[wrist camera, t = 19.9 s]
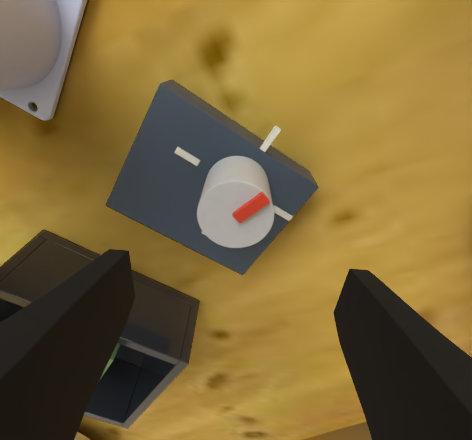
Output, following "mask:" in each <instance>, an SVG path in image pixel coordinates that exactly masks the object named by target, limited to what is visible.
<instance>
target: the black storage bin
mask: <svg viewBox="0 0 472 440" xmlns="http://www.w3.org/2000/svg"><path fill="white" fill-rule="evenodd" d="M99 256H100V255H98V254H96V253H94V252H91V251H89V250H87V249H85V248H83V247H80V246H78V245H76V244H74V243H72V242H70V241H67V240H65V239H63V238H61V237H59V236H56V235H54V234H52V233H50V232H48V231H46V230H42V231H41V232H40V233H39V234H38V235H37V236H35V237H34V238H33V239H32V240H31V241H30V242H28V243H27V244H26V245H25V246H24V247H23V248H21V249H20V250H19V251H18V252H17V253H16V254H14V255H13V256H12V257H11V258H10V259H9V260H8V261H6V262H5V263H4V264H3V265H2V266H1V267H0V322H1V321H3V320H5V319H6V318H8V317H10V316H11V315H13V314H15V313H16V312H18V311H19V310H21V309H22V308H24V307H26V306H27V305H29V304H30V303H32V302H33V301H35V300H37V299H38V298H40V297H41V296H43V295H44V294H46V293H47V292H49V291H51V290H52V289H53V288H55V287H56V286H58V285H59V284H61V283H62V282H64V281H65V280H66V279H68V278H69V277H71V276H72V275H74V274H75V273H77V272H78V271H79V270H81V269H82V268H84V267H85V266H86V265H88V264H89V263H91V262H92V261H93V260H95V259H96V258H98V257H99ZM132 277H133V284H134V291H135V299H134V302H133V305H132V309H131V312H130V315H129V317H128V320H127V323H126V326H125V328H124V330H123V332H122V335H121V337H120V339H119V341H118V343H119V344H120V346H119V348H118V351H117V353H116V355H115V358H114V360H113V362H112V363H111V364H110V366H109V367H108V369H107V370H106V372H105V373H104V375H103V376H102V378H101V379H100V380H99V382H98V384H97V386H96V389H95V391H94V393H93V395H92V397H91V399H90V401H89V404H88V406H87V408H86V411H85V413H84V416H87V417H90V418H94V419H97V420H100V421H104V422H107V423H110V424H113V425H117V426H121V427H124V428H127V429H128V428H129V427H130V426H131V425H132V424H133V423H134V422H135V421H136V419H137V418H138V417H139V416H140V415H141V414H142V413H143V412H144V411H145V410H146V409H147V408H148V407H149V406H150V405H151V403H152V402H153V401H154V400H155V399H156V398H157V397H158V396H159V395H160V394H161V393H162V392H163V391H164V390H165V388H166V387H167V386H168V385H169V384H170V383H171V382H172V381H173V380H174V379H175V378H176V377H177V376H178V375H179V374H180V372H181V371H182V370H183V369H184V368H185V367H186V366H187V365H188V364H189V359H190V353H191V348H192V342H193V336H194V331H195V325H196V320H197V314H198V308H199V301H198V300H196V299H194V298H192V297H190V296H187V295H185V294H183V293H181V292H179V291H177V290H174V289H172V288H170V287H168V286H166V285H163V284H161V283H159V282H157V281H155V280H153V279H150V278H148V277H146V276H144V275H142V274H139V273H137V272H135V271H133V270H132Z"/></svg>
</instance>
